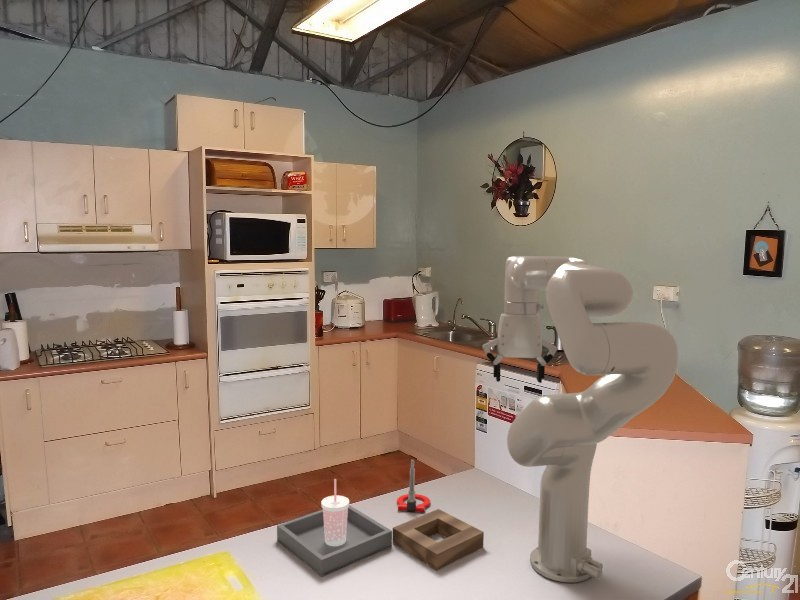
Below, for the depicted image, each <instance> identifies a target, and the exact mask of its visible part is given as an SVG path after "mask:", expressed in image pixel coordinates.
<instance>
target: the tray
mask: <svg viewBox="0 0 800 600" xmlns="http://www.w3.org/2000/svg"><path fill="white" fill-rule="evenodd" d="M276 540H277V542H279V543H280V544H281V545H282V546H283V547H284V548H286V549H287V550H289V552H290V553H292V554H293V555H294V556H296V557H297V558H298V559H299V560H300V561H302V562H303V563H304V564H306V566H307V567H309V568H310V569H311V570H313V571H314V572H315V573H317V574H318V575H319V576H320V577H321V578H323V577H324V576H327V575H329V574H332V573H334V572H336V571H338V570H341V569H343V568H345V567H348V566H349V565H352V564H354V563H356V562H359V561H362V560H364V559H365V558H368V557H370V556H373V555H375V554H377V553H380V552H382V551H384V550H387V549H389V548H391V547H393V530H391V529H390V528H387V527H386V526H385V525H383V524H381V523H380V522H378V521H376V520H375V519H374V518H371V517H370V516H368V515H366V514H365V513H363V512H362V511H360V510H359V509H357V508H355V507H353V506H352V505H350V504H349V507H348V515H347V532H346V542H345V543H344V544H342V545H340V546H329V545H327V544H326V543H325V533H324V519H323V509H321V510H317V511H315V512H311V513H309V514H308V513H307V514H305V515H303V516H300V517H296V518H294V519H291V520H288V521H285V522H283V523H280V524H278V525H276Z"/></svg>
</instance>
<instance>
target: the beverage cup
mask: <svg viewBox="0 0 800 600" xmlns="http://www.w3.org/2000/svg"><path fill="white" fill-rule="evenodd" d="M333 485H334V486H333V487H334V488H333V489H334V490H333V491H334V492H333V495H329V496H326V497H324V498H323V499H322V500H321V502H320V503H321V508H322V510H323V519H324V533H325V543H326V544H327V545H329V546H340V545H342V544H344V543H345V542H346V532H347V515H348V507H349V505H350V499H349V498H348V497H346V496H344V495H338V494H337V479H336V478H334V479H333Z"/></svg>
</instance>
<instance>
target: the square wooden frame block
mask: <svg viewBox="0 0 800 600" xmlns="http://www.w3.org/2000/svg"><path fill="white" fill-rule="evenodd" d="M436 534H439V535H441V536H442V535H443V536H442V537H444V536H445V537H444V539H442V540H440V541H436V540H435V539H433V538H431V537H433V536H435V535H436ZM432 535H433V536H432ZM392 544H394V545H395V546H397V547H399V549H401V550H403V551H405V552H406V553H408V554H409V555H411V556H412V557H414V558H416V559H417V560H419V561H421V562H422V563H424V564H425V565H426V566H428V567H431V568H432V569H433V570H435V571H436V572H437V571H439V570H441V569H444V568H445V567H447V566H450V565H452V564H453V563H455V562H457V561H459V560H461V559H463V558H465V557H466V556H469V555H471V554H473V553H474V552H477V551H479V550H481V549H483V548H484V531H482V530H480V529H479V528H476V526H473V525H471V524H469V523H468V522H465V521H463V520H462V519H459V518H457V517H455V516H453V515H451V514H449V513H447V512H445V511H443V510H441V509H439V508H438V509H435V510H433V511H430V512H428V513H424V514H423V515H420V516H418V517H415V518H413V519H411V520H408V521H406V522H403V523H401V524H398V525H396V526H393V527H392Z"/></svg>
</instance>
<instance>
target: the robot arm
mask: <svg viewBox="0 0 800 600" xmlns="http://www.w3.org/2000/svg"><path fill="white" fill-rule="evenodd" d="M504 269H505V271H504V272H505V273H504V274H505V275H504V305H503V306H504V307H503V309H504V311H503V312H504V313H500V317H499V321H498V328H497V337H496V338H494V339H492V340H490V341H487V342H486V343H484V344H482V349H483V352H484V353H485V356H486V357H487V358H488V359H489V360H490V361H491V363H493V372H492V373H493V378H495V380H496V383H497V382H501V364H500V362H501V361H502V360H503V359H504V358H519V359H522V358H523V359H536V360H537V361H538V362H537V364H536V381H537V382H538V383H539V384H542V382H543V381H542V380H543V379H545V369H546V366H547V364H548V363H549V362H550V361H552V359H553V358H554V356H555V354H556V353H557V351H558V347H557V346H556V345H554V344H553V343H550V342H549V341H547V340H544V339H543V335H542V334H543V333H542V331H543V330H542V321H541V316H540V314H538V312H539V311H544V307H545V306H544V304H541V303H539V302H538V297H539V296H538V295H539V294H538V291H545V299H546V304H547V308H548V311H549V315H550V317H551V320H552V322H553V324H554V328H555V330H556V333H557V337H558V338H559V341H560V343H561V346H562V348H563V349H562V350H563V351H564V354H565V357H566V359H567V361H568V363H569V365H570V366H571V367H572V368H573V369H574V370H575V371H576V372H577V373H579V374H582V375H585V376H601V377H599V378H598V379H596V380H595V381H594V382H593V384H591V385H590V386H589V387H588V388H586V389H585V390H583V391H581V392H571V393H557V394H546V395H541V396H539V397H537V398H534V399H532V401H530V403H528V404H527V405H526V406H525V408H524V409H523V410H522V411H521V412H520V413H519V414H518V415H517V417H515V419H514V420H513V421H512V423H511V424H510V426H509V428H508V432H507V437H506V438H507V439H506V446H507V451H508V454H509V455H510V457H511V458H512V460H513V461H514V462H515V463H517V465H520V466H522V467H526V468H527V467H529V468H531V467H543V466H546V467H545V468H544V470H543V472H542V475H541V479H540V484H539V485H540V486H539V487H540V489H539V510H538V511H539V514H538V515H539V517H538V542H537V544H538V545H537V546H538V547H536V548H534V549H533V550H532V551H531V553H530V555H529V562H530V566H531V567H532V568H533V570H534V571H536V572H537V573H538V574H540V575H541V576H542V577H545V578H547V579H550V580H552V581H556V582H560V583H562V582H563V583H579V582H583V581H586V580H589V578H591V577H593V578H595V579H596V580H600V579H601V577H602V575H603V567H604V565H603V563H602V562H600V561H598V560H595V559H593V557H592V549H591V548H588V547H587V546H588V545H587V544H588V543H587V542H588V525H589V524H588V523H589V522H588V521H589V501H590V500H589V499H590V498H589V497H590V485H591V484H590V482H591V475H592V474H591V472H592V467H593V463H594V458H595V454H596V450H597V446H598V445H597V444H599V443H601V442H603V441H605V440H606V439H607V438H609V437H610V436H611V435H613V434H614V433H616V432H617V431H618V430H619V429H621V428H622V427H623V426H625V425H626V424H627V423H629V422H630V421H631V420H632V419H634V418H635V417H637V416H638V415H639V414H641V413H642V412H644V411H646V410H647V409H648V408H649V407H652V406H653V405H654V404H655V403H656V402H657V401H658V400H659V399H661V398H662V397H663V395H665V393H666V392H667V391H668V389H669V388H670V386H671V384H672V382H673V381H674V378H675V375H676V372H677V368H678V363H679V362H678V361H679V348H678V345H677V341H676V339H675V337H674V336H673V334H672V333H670V331H669V330H667V329H666V328H664V327H662V326H661V325H657V324H655V323H651V322H643V321H642V322H641V321H623V322H622V321H620V322H592V321H591V318H602V317H606V318H607V317H612V316H615V315H618V314H621V313H622V312H624V311H625V310H626V309H627V308H628V307H629V305H630V304H631V302H632V300H633V296H634V295H633V294H634V292H633V286H632V284H631V282H630V280H629V279H628V278H627V277H626V276H625V275H623V274H622V273H620V272H618V271H617V270H613V269H611V268H610V269H609V268H606V267H602V266H599V265H598V266H597V265H592V264H589V263H588V261H587V260H584V259H581V258H576V257H572V256H563V255H562V256H561V255H560V256H557V255H556V256H554V255H552V256H551V255H549V256H547V255H546V256H545V255H544V256H543V255H539V256H538V255H537V256H536V255H529V256H528V255H516V256H515V255H511V256H509V257H507V259H506V261H505V268H504ZM495 346H496V351H497V354H496V355H494V354H493V353H492V352H491V350H490V349H491V348H494V347H495ZM543 347H545V348H547V349H548V352H547V353H546V354H545V356H543V357H542V355H543V354H542V353H543Z"/></svg>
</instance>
